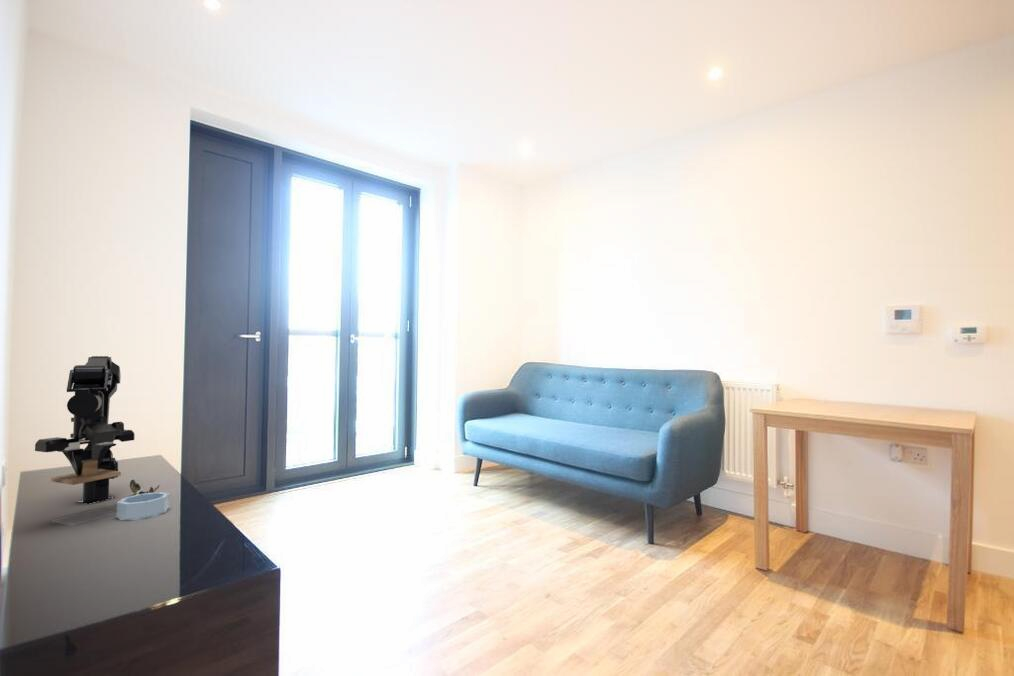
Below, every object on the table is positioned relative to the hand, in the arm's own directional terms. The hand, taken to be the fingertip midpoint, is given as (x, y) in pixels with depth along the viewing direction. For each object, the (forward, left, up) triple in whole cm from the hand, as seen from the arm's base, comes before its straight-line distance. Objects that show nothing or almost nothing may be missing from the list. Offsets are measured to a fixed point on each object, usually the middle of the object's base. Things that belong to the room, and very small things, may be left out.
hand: (86, 473), depth 119 cm
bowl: (+12, +7, -11) cm, 18 cm away
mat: (0, 0, -11) cm, 11 cm away
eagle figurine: (-2, +13, -12) cm, 17 cm away
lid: (0, 0, -1) cm, 1 cm away
